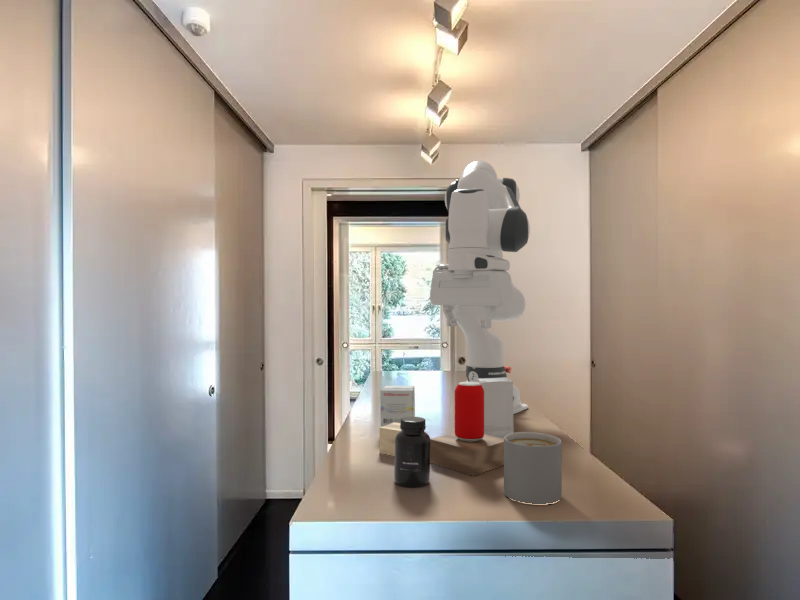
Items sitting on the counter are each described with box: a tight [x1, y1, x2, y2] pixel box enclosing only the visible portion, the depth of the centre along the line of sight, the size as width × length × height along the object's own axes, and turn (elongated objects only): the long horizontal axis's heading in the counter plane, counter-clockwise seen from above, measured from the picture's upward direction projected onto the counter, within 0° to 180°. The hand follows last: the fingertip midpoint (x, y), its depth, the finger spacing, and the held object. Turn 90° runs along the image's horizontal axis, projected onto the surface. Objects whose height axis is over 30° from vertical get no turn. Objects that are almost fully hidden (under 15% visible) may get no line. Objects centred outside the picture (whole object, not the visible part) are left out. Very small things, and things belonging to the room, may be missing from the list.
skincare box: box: [477, 376, 515, 438], centre depth 132 cm, size 8×6×15 cm
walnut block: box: [430, 432, 504, 477], centre depth 111 cm, size 12×12×5 cm
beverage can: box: [454, 381, 484, 442], centre depth 111 cm, size 6×6×12 cm
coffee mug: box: [503, 431, 563, 504], centre depth 95 cm, size 13×10×10 cm
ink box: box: [379, 385, 416, 427], centre depth 138 cm, size 9×9×12 cm
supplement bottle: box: [393, 416, 431, 488], centre depth 100 cm, size 7×7×12 cm
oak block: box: [379, 422, 401, 457], centre depth 119 cm, size 6×6×6 cm
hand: (468, 327), depth 113 cm, fingers open, 8 cm apart
